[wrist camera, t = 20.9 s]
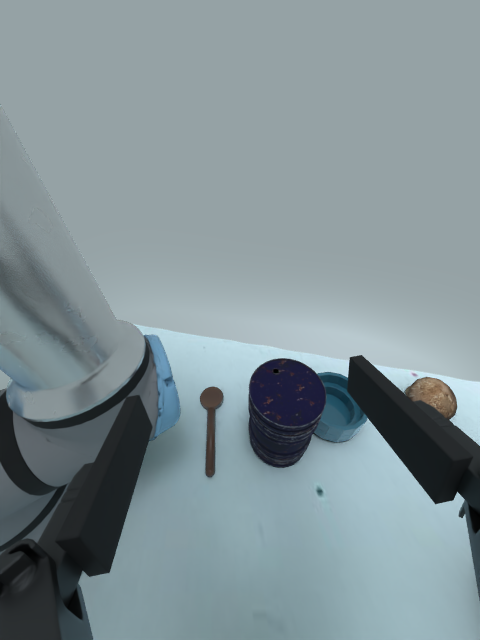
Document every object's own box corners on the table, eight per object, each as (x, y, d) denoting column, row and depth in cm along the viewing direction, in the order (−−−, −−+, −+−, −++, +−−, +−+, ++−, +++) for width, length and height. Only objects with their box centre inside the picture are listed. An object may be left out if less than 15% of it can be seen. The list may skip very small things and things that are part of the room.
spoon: (224, 476, 34) (224, 474, 33) (196, 479, 34) (194, 476, 33) (223, 388, 45) (222, 384, 44) (201, 390, 45) (200, 386, 44)
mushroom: (396, 370, 43) (429, 370, 37) (431, 384, 44) (468, 386, 38) (390, 411, 41) (423, 419, 35) (426, 426, 42) (465, 435, 36)
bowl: (297, 433, 38) (302, 419, 35) (301, 383, 46) (306, 367, 42) (361, 451, 36) (373, 437, 32) (355, 394, 43) (365, 379, 40)
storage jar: (319, 453, 36) (345, 409, 26) (264, 480, 34) (270, 443, 24) (287, 399, 43) (298, 349, 33) (240, 419, 41) (236, 370, 31)
